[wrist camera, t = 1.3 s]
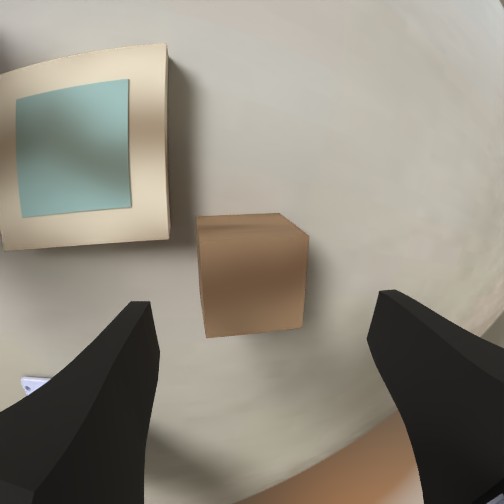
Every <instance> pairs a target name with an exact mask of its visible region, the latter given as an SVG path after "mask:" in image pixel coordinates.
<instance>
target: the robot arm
mask: <svg viewBox="0 0 504 504" xmlns="http://www.w3.org/2000/svg"><path fill="white" fill-rule="evenodd" d="M367 342H368V345H369V348H370V351H371V354H372V357H373V359H374V362H375V364H376V367H377V369H378V371H379V373H380V375H381V377H382V378H383V380H384V382H385V384H386V386H387V388H388V390H389V392H390V394H391V396H392V398H393V400H394V402H395V404H396V406H397V408H398V410H399V412H400V414H401V417H402V419H403V421H404V423H405V426H406V429H407V432H408V435H409V438H410V441H411V444H412V448H413V451H414V455H415V458H416V463H417V466H418V471H419V476H420V481H421V486H422V491H423V499H424V504H504V348H502V347H499V346H497V345H495V344H493V343H491V342H488V341H486V340H484V339H482V338H480V337H478V336H476V335H474V334H472V333H470V332H468V331H467V330H465V329H463V328H461V327H459V326H458V325H456V324H454V323H452V322H451V321H449V320H447V319H446V318H444V317H442V316H441V315H439V314H437V313H436V312H434V311H432V310H431V309H429V308H427V307H426V306H424V305H422V304H421V303H419V302H417V301H416V300H414V299H412V298H411V297H409V296H407V295H405V294H403V293H401V292H399V291H397V290H384V291H379V295H378V299H377V303H376V307H375V311H374V314H373V318H372V322H371V325H370V329H369V332H368V336H367ZM159 359H160V349H159V345H158V340H157V335H156V330H155V325H154V320H153V315H152V309H151V304H150V301H131V302H130V303H129V304H128V305H127V306H126V307H125V308H124V309H123V310H122V311H121V312H120V313H119V314H118V315H117V316H116V318H115V319H114V320H113V321H112V322H111V323H110V324H109V325H108V326H107V327H106V328H105V329H104V330H103V331H102V332H101V333H100V334H99V335H98V337H97V338H96V339H95V340H94V341H93V342H92V343H91V344H90V345H88V346H87V347H86V348H85V349H84V350H83V351H82V352H81V353H80V354H79V355H78V356H77V357H76V358H75V359H74V360H73V361H72V362H71V363H69V364H68V365H67V366H66V367H65V368H64V369H63V370H61V371H60V372H59V373H58V374H56V375H55V376H54V377H53V378H36V377H23V378H22V379H21V384H22V386H23V388H24V390H25V392H26V394H27V396H26V397H24V398H23V399H21V400H20V401H19V402H17V403H15V404H14V405H12V406H10V407H8V408H7V409H5V410H3V411H1V412H0V504H144V463H145V447H146V439H147V434H148V428H149V423H150V417H151V412H152V407H153V402H154V397H155V392H156V387H157V382H158V372H159ZM29 387H30V388H29Z"/></svg>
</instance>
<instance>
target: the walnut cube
mask: <svg viewBox="0 0 504 504" xmlns="http://www.w3.org/2000/svg"><path fill="white" fill-rule="evenodd" d="M196 231H197V252H198V270H199V287H200V298H201V306H202V313H203V320H204V327H205V334H206V338H213V337H225V336H235V335H245V334H254V333H263V332H272V331H280V330H288V329H296V328H302V322H303V311H304V300H305V288H306V275H307V261H308V246H309V235H308V234H306V233H305V232H304V231H302V230H301V229H300V228H298V227H297V226H296V225H294V224H293V223H292V222H290V221H289V220H288V219H286V218H285V217H284V216H282V215H281V214H280V213H271V214H244V215H221V216H201V217H196Z"/></svg>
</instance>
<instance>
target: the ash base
mask: <svg viewBox="0 0 504 504" xmlns="http://www.w3.org/2000/svg"><path fill="white" fill-rule="evenodd" d="M168 57H169V56H168V50H167V44H166V43H163V44H149V45H138V46H128V47H120V48H112V49H105V50H99V51H93V52H87V53H81V54H76V55H71V56H66V57H62V58H57V59H53V60H49V61H45V62H41V63H37V64H33V65H29V66H26V67H22V68H19V69H16V70H12V71H9V72H6V73H3V74H0V232H1V237H2V243H3V248H4V251H14V250H26V249H38V248H51V247H64V246H77V245H90V244H104V243H118V242H133V241H148V240H164V239H169V235H170V228H171V223H170V206H169V183H168V147H167V91H168Z"/></svg>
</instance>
